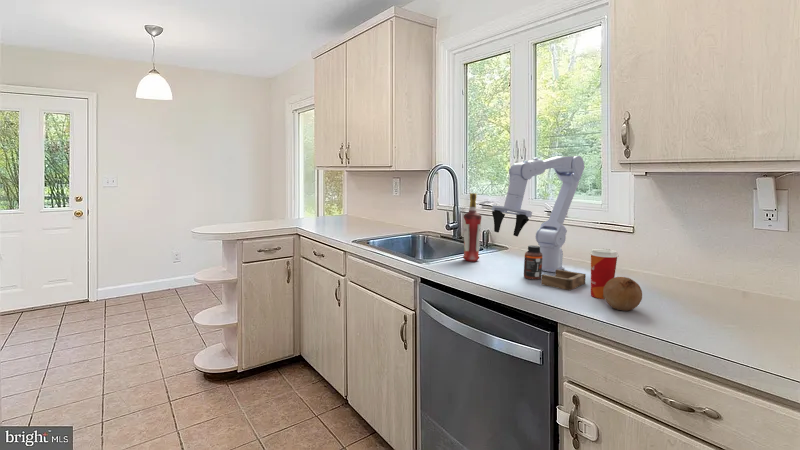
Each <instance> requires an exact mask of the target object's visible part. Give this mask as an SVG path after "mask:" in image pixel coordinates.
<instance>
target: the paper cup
mask: <svg viewBox="0 0 800 450" xmlns="http://www.w3.org/2000/svg"><path fill="white" fill-rule="evenodd" d="M589 255H590V296H591V297H592V298H594V299H595V298H596V299H600V300H604V298H603V295H604V294H603V289H604V286H605V284H606V283H607V282H608V281H609V280H610V279H612V278H615V277H616V270H617V269H616V268H617V261H618V257H619V254H618V251H617V250H615V249H607V248H592V249H591V251H590V253H589Z"/></svg>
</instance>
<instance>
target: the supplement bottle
mask: <svg viewBox="0 0 800 450" xmlns="http://www.w3.org/2000/svg"><path fill="white" fill-rule="evenodd" d="M542 271H543V270H542V253H541V252H540V246H539V245H528V246H527V251H525V253H524V263H523V278H525V279H527V280H535V281H536V280H542V275H543V274H542V273H543V272H542Z"/></svg>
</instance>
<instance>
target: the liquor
mask: <svg viewBox="0 0 800 450" xmlns="http://www.w3.org/2000/svg"><path fill="white" fill-rule="evenodd" d="M476 200H477V193H475V192H474V193H469V201H470V202H469V208H468V212H466V213H464V214H463V256H462V258H463V259H464V260H465V261H466V262H471V263H472V262H474V263H475V262H477V261H478V260H480V255H479V252H480V251H479V250H480V237H481V227H482V215H481V214H480V213H478V212H477V203H476Z"/></svg>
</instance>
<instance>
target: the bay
mask: <svg viewBox="0 0 800 450" xmlns="http://www.w3.org/2000/svg"><path fill="white" fill-rule="evenodd" d="M554 273H555V274H554V275H549V274H541V275H542V276H541V279H540V281H541V282H540V283H541V286H546V287H547V286H548V287H552V288H557V289H562V290H567V291H572V290H574V289H576V288H579V287H581V286H582V285H585V284H586V273H581V272H575V271H571V270H570V271H569V270H564V269H562V270H559V269H557V270H556V272H554Z"/></svg>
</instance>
